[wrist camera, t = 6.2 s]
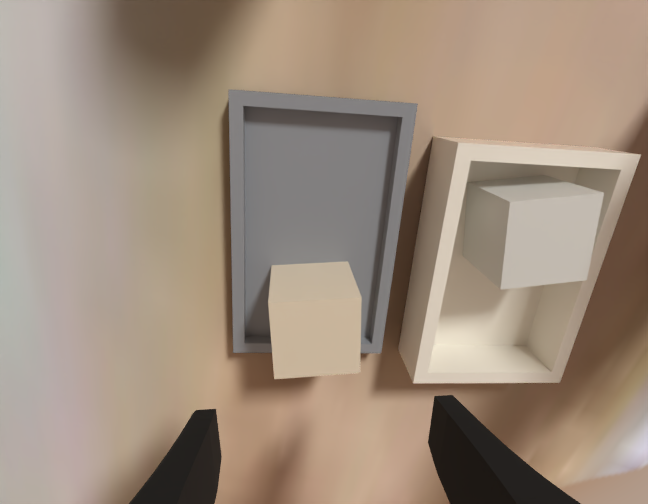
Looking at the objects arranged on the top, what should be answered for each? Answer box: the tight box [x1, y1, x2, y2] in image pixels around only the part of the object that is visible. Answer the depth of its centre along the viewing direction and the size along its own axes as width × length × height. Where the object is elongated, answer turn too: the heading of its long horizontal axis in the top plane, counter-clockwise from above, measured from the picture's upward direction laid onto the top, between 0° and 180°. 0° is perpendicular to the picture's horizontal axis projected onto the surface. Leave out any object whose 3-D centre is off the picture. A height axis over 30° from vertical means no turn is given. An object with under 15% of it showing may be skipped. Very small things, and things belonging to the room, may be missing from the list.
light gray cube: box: [463, 175, 604, 290], centre depth 18 cm, size 4×4×4 cm
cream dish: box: [398, 136, 641, 383], centre depth 20 cm, size 8×12×3 cm
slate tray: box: [229, 90, 418, 353], centre depth 20 cm, size 8×13×1 cm, turn 176°
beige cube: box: [268, 261, 362, 379], centre depth 19 cm, size 4×4×4 cm
